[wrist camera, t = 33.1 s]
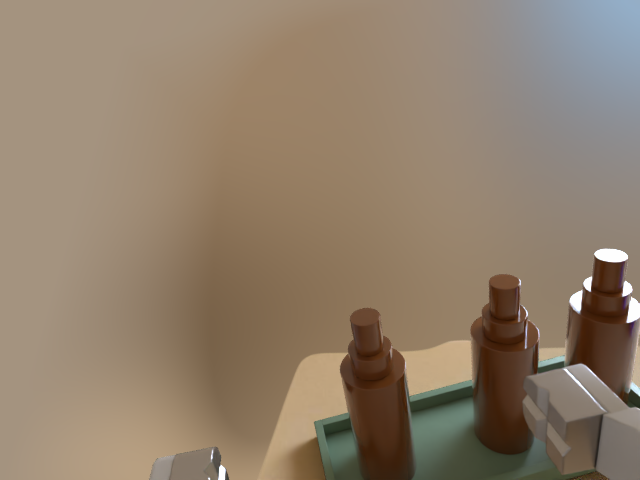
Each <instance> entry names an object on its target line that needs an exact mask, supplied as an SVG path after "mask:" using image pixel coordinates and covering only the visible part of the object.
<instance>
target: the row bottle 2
mask: <svg viewBox="0 0 640 480" xmlns="http://www.w3.org/2000/svg"><path fill="white" fill-rule="evenodd" d="M627 263H628V256H627V254H625V253H624V252H622V251H619V250H614V249H602V250H598V251H596V252H595V253H594V259H593V269H592V277H589V278H587V279H586V280H585V281H584V282H583V290H582V291H579V292H577V293H575V294H573V295H572V296H571V298H570V300H569V309H568V322H567V334H566V347H565V359H564V367H568V366H572V365H577V364H583V365H585V366H587V367H588V368H589V369H590V370H591V371H592V372H593V373H594V374H595V375H596V376H597V377H598V378H599V379H600V380H601V381H602V382H603V383H604V384H605V385H606V386H607V387H608V388H609V389H610V390H611V391H612V392H614V393H615V394H616V395H617V396H618V397H619V398H620V399H621V400H622V401H623V402H624V403H625V404H626V405H627V406H628V401H629V395H630V389H631V383H632V377H633V371H634V365H635V358H636V352H637V346H638V340H639V334H640V304H639V303H638V302H637V301H636V300H635V299H634V298H632V297H631V296H632V286H631V285H630V284H629V283H628V282H626V281H625V277H626V269H627Z"/></svg>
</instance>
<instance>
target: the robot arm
mask: <svg viewBox="0 0 640 480" xmlns="http://www.w3.org/2000/svg"><path fill="white" fill-rule="evenodd" d="M523 389H524V390H525V391H526V393H527V395H526V397H525V398H524V399H523V401H522V402H523V414H524V417H525V421H526V423H527V425H528V427H529V429H530V431H531V432H532V434H533V435H534V436H535V438H537V439H539V440H540V441H542V442H544V443H546V454H547V455H548V456H549V458H550V459H551V461H552V462H553V463H554V465H555V466H556V468H557V469H558V471H559V472H560V473H561V475H565V474H570V473H575V472H580V471H585V470H590V469H595V468H596V471H598V472H599V473H601V474H602V475H604V476H605V477H607V478H608V479H610V480H640V409H639V408H636V407H633V408H629V407H628V406H627V405H626V404H625V403H624V402H623V401H622V400H621V399H620V398H619V397H618V396H617V395H616V394H615V393H614V392H612V391H611V390H610V389H609V388H608V387H607V386H606V385H605V384H604V383H603V382H602V381H601V380H600V379H599V378H598V377H597V376H596V375H595V374H594V373H593V372H592V371H591V370H590V369H589V368H588V367H587V366H585V365H583V364H577V365H572V366H568V367H564V368H559V369H555V370H550V371H546V372H542V373H538V374H534V375H529V376H525V378H524V380H523ZM220 462H221V455H220V452H219V450H218V448H217V447H211V448H206V449H201V450H196V451H191V452H185V453H180V454H177V455H172V456H168V457H162V458H157V459H156V461H155V463H154V464H153V467H152V470H151V474H150V478H149V480H229V477H228V474H227V471H226V468H224V467H222V466H221V465H220Z"/></svg>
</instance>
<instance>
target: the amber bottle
mask: <svg viewBox="0 0 640 480" xmlns="http://www.w3.org/2000/svg"><path fill="white" fill-rule="evenodd" d="M350 322H351V328H352V334H353V340H352V341H351V342H350V344H349V346H348V354H347V355H346V356H345V358H344V359H343V361H342V363H341V366H340V373H341V378H342V384H343V389H344V394H345V399H346V404H347V410H348V415H349V420H350V425H351V431H352V436H353V441H354V446H355V451H356V457H357V462H358V467H359V471H360V474H361V476H362V478H363V479H364V480H412V478H413V477H414V475H415V472H416V468H417V461H416V452H415V443H414V434H413V425H412V416H411V407H410V398H409V389H408V380H407V371H406V363H405V360H404V358H403V356H402V355H401V354H400V353H399V352H398V351H397V350H395V349H393V348H392V345H391V342H390V340H389V339H388V338H387V337H385V336H383V332H382V325H381V317H380V314H379V312H378V311H377V310H375V309H371V308H363V309H359V310H357V311H355V312H353V313H352V315H351V316H350Z"/></svg>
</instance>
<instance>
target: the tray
mask: <svg viewBox="0 0 640 480" xmlns="http://www.w3.org/2000/svg"><path fill="white" fill-rule="evenodd" d="M564 359H565V355H563V356H559V357H556V358H552V359H548V360H544V361H541V362H538V373H542V372H546V371H550V370H555V369H559V368H564ZM409 398H410V407H411V416H412V425H413V434H414V443H415V452H416V461H417V468H416V472H415V475H414V477H413V478H412V480H568V479H571V478H574V477H578V476H581V475H585V474H588V473H591V472H595V471H596V468H595V469H590V470H585V471H580V472H575V473H570V474H565V475H561V473H560V472H559V471H558V469H557V468H556V466H555V465H554V463H553V462H552V461H551V459H550V458H549V456H548V455H547V454H546V443H544V442H542V441H540V440H539V439H537V438H535V439H534V442H533V444H532V446H531V447H530V448H529V449H528V450H526V451H525V452H523V453H520V454H514V455H506V454H500V453H497V452H494V451H492V450H490V449H488V448H487V447H485V446H484V445H483V444H482V443H481V442H480V441H479V440H478V438H477V437H476V435H475V432H474V422H473V390H472V380H469V381H465V382H462V383H458V384H454V385H450V386H447V387H443V388H439V389H435V390H431V391H428V392H424V393H420V394H416V395H413V396H409ZM628 407H629V408H633V407H636V408H639V409H640V388H638V387H637V386H636V385H635V384H634V383H633V382H632V383H631V389H630V395H629V401H628ZM314 424H315V429H316V434H317V439H318V443H319V448H320V453H321V458H322V463H323V467H324V472H325V477H326V480H364V479H363V478H362V476H361V474H360V471H359V467H358V462H357V457H356V451H355V446H354V441H353V436H352V431H351V425H350V420H349V415H348V413H345V414H341V415H337V416H334V417H330V418H326V419H322V420H318V421H315V422H314Z"/></svg>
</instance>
